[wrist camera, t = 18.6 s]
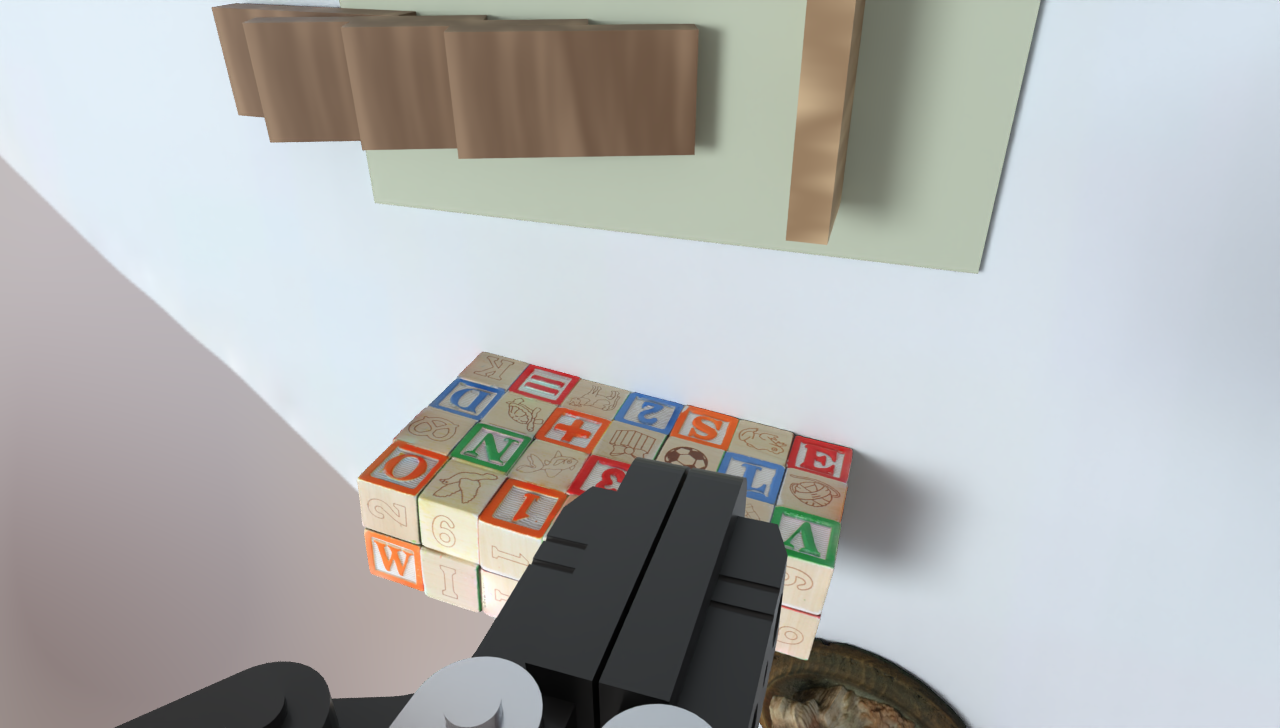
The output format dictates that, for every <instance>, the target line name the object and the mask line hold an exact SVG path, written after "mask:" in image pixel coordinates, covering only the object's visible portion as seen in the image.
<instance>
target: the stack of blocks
mask: <svg viewBox="0 0 1280 728" xmlns="http://www.w3.org/2000/svg"><path fill="white" fill-rule="evenodd" d="M852 456H853V450H852V449H850V448H847V447H842V446H838V445H834V444H830V443H826V442H822V441H818V440H814V439H810V438H805V437H802V436H794V434H793V433H792V432H789V431H785V430H781V429H778V428H774V427H770V426H766V425H762V424H758V423H755V422H751V421H746V420H739V419H737V418H734V417H731V416H728V415H724V414H720V413H716V412H713V411H709V410H706V409H702V408H698V407H694V406H690V405H685V406H684V405H682V404H678V403H675V402H671V401H666V400H663V399H659V398H655V397H651V396H647V395H643V394H640V393H636V392H629V391H627V390H623V389H619V388H615V387H611V386H608V385H604V384H600V383H596V382H592V381H588V380H584V379H581V378H580V377H577V376H573V375H570V374H566V373H562V372H558V371H554V370H551V369H547V368H543V367H539V366H535V365H532V364H528V363H525V362H522V361H518V360H514V359H510V358H507V357H503V356H499V355H495V354H491V353H487V352H481V353H480V354H479V355H478V356H477V357H476V358H475V359H474V360H473V361H472V362H471V363H470V364H469V365H468V366H467V367H466V368H465V369H464V370H463V371H462V372H461V373H460V374H459V376H458V377H457V379H456V380H454V381H453V382H452V383H451V384H450V385H449V386H448V387H447V388H446V389H445V390H444V391H443V392H442V393H441V394H440V395H439V396H438V397H437V398H436V399H435V400H434V401H433V402H432V403H431V404H429V406H428V407H427V408H424V409H423V410H422V411H421V412H420V413H419V414H418V415H417V416H415V418H414V419H413V420H412V421H411V422H410V423H409V424H408V425H407V426H406V427H405V428H404V429H403V430H401V432H400V433H399V434H398V435H397V436H396V437H395V438H394V439H393V444H391V445H390V446H389V447H388V448H387V449H386V450H385V451H384V452H383V453H382V454H381V455H380V456H379V457H378V458H377V459H376V460H375V461H374V462H373V463H372V464H371V465H370V466H369V467H368V468H367V469H366V470H365V471H364V472H363V473H362V474H361V475H360V476H359V477H358V480H357V483H358V490H359V498H360V505H361V515H362V524H363V526H364V527H366V528H365V532H364V537H365V543H366V550H367V556H368V563H369V568H370V572H371V574H373V575H375V576H378V577H381V578H384V579H388V580H391V581H394V582H397V583H400V584H402V585H405V586H408V587H411V588H414V589H417V590H420V591H425V594H426V595H427V596H428V597H431V598H434V599H437V600H440V601H443V602H446V603H449V604H452V605H455V606H459V607H462V608H465V609H468V610H471V611H474V612H480V611H483V612H484V613H485V614H487V615H488V616H492V617H495V618H497V616H498V614H499V613H500V611H501V609H502V608H503V606H504V605H505V603H506V601H507V600H508V598H509V596H510V595H511V593H512V591H513V590H514V588H515V586H516V585H517V583H518V582H519V580H520V578H521V577H522V575H523V573H524V572H525V570H526V568H527V567H528V565H529V564H532V561H533V557H534V555H535V554H536V552H537V550H538V549H539V547H540V545H541V544H542V542H543V541H546V538H547V534H548V532H549V530H550V529H551V527H552V526H553V524H554V522H555V521H556V519H557V517H558V516H559V514H560V512H561V511H562V509H563V507H565V506H566V505H567V504H569V503H570V502H571V501H573V500H574V499H576V498H577V497H578V496H580V495H581V494H582V493H584V492H585V491H587V490H588V489H589V488H591V487H592V486H594V487H599V488H604V489H609V490H614V491H617V490H618V488H619V486H620V484H621V482H622V480H623V479H624V477H625V475H626V473H627V471H628V469H629V467H630V465H631V464H632V462H633V461H634V459H635V458H637V457H641V458H646V459H651V460H657V461H662V462H667V463H672V464H677V465H682V466H688V467H690V469H692V468H699V469H704V470H709V471H715V472H720V473H725V474H730V475H735V476H740V477H745V478H747V495H746V507H745V518H750V519H755V520H760V521H764V522H769V523H774V524H778V526H779V530H780V533H781V536H782V539H783V542H784V545H785V548H786V552H787V555H788V558H787V566H786V574H785V582H784V590H783V598H782V606H781V614H780V623H779V631H778V638H777V643H776V648H775V651H777V652H780V653H783V654H787V655H790V656H793V657H796V658H799V659H802V660H808V658H809V655H810V652H811V648H812V645H813V642H814V638H815V635H816V632H817V628H818V625H819V621H820V617H821V612H822V608H823V605H824V602H825V598H826V595H827V591H828V588H829V585H830V581H831V578H832V574H833V571H834V567H835V561H836V555H837V549H838V542H839V536H840V530H841V524H840V522H841V518H842V514H843V510H844V503H845V499H846V493H847V489H848V485H847V482H848V478H849V473H850V468H851V463H852Z"/></svg>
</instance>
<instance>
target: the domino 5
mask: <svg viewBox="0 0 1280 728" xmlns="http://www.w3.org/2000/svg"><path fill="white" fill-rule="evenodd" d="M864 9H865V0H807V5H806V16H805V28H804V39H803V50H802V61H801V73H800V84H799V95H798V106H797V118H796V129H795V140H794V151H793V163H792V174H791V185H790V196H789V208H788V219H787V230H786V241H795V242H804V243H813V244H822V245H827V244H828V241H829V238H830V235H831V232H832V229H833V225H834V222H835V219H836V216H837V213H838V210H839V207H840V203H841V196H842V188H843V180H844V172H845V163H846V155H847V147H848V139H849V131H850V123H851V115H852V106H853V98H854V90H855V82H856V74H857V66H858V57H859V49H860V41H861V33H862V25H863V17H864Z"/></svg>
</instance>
